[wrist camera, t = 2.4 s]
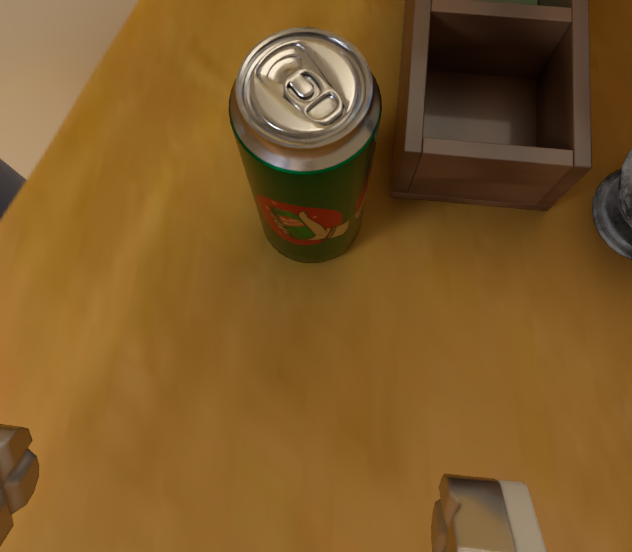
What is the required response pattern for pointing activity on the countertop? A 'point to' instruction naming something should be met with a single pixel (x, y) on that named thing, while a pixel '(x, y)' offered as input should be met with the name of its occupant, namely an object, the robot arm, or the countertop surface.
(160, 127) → the countertop surface
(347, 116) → the soda can
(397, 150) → the wooden compartment tray
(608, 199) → the grey stacked stone piece
